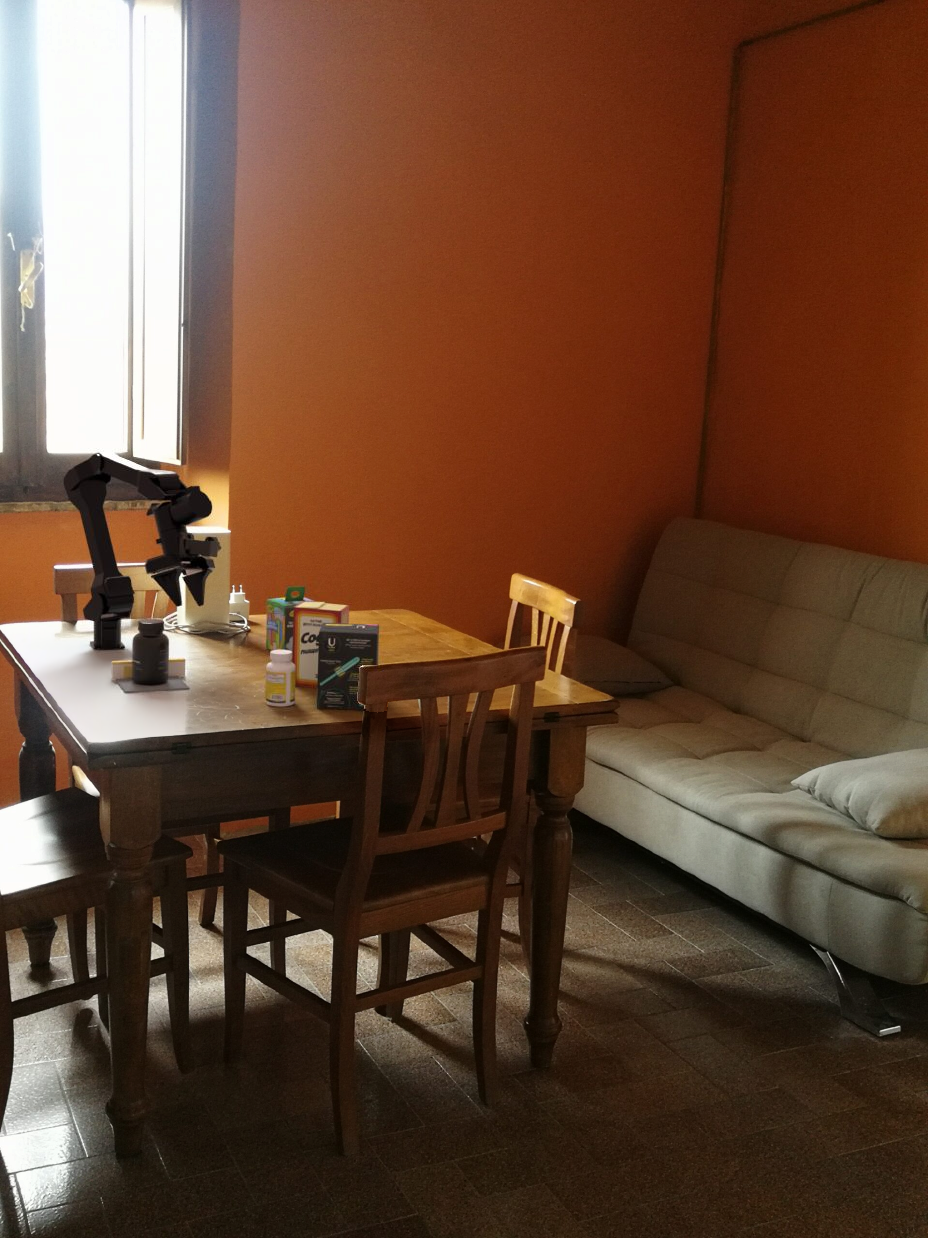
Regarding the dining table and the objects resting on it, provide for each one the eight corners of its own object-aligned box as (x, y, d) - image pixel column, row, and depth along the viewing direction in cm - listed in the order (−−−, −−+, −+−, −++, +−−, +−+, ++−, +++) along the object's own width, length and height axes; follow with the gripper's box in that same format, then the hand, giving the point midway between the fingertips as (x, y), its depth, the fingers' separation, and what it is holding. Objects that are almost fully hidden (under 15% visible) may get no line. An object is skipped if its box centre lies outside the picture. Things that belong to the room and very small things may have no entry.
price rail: (111, 678, 230) (111, 660, 229) (183, 674, 236) (183, 657, 235) (112, 680, 228) (112, 662, 227) (185, 676, 234) (185, 659, 234)
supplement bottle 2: (286, 698, 222) (287, 647, 220) (300, 705, 218) (301, 653, 216) (260, 701, 219) (261, 649, 217) (273, 708, 214) (275, 655, 213)
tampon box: (377, 698, 226) (380, 623, 223) (375, 711, 217) (379, 633, 214) (319, 696, 225) (321, 620, 222) (315, 708, 216) (318, 630, 213)
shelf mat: (115, 680, 228) (115, 678, 228) (178, 677, 233) (178, 675, 233) (125, 693, 219) (125, 691, 219) (189, 689, 225) (189, 687, 225)
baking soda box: (346, 682, 237) (349, 603, 235) (338, 689, 231) (341, 609, 228) (300, 678, 239) (302, 599, 236) (291, 685, 232) (293, 605, 229)
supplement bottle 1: (125, 684, 225) (125, 622, 222) (142, 676, 231) (142, 616, 229) (159, 687, 223) (159, 625, 221) (174, 679, 230) (175, 619, 228)
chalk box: (300, 645, 269) (302, 581, 267) (320, 653, 262) (322, 587, 260) (264, 648, 264) (265, 583, 261) (283, 657, 257) (285, 589, 254)
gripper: (185, 518, 229) (203, 595, 228) (228, 523, 247) (245, 595, 246) (135, 533, 232) (153, 610, 231) (181, 537, 250) (198, 609, 249)
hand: (190, 605), depth 239 cm, fingers open, 9 cm apart
